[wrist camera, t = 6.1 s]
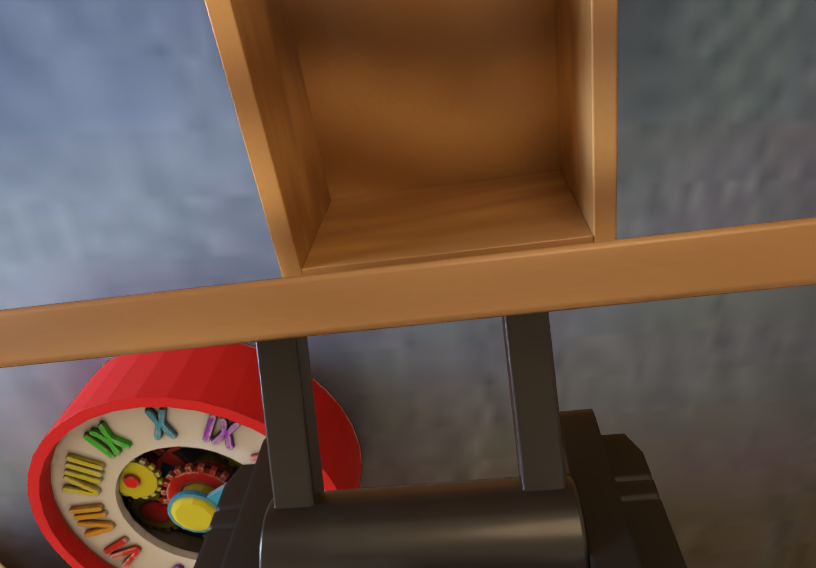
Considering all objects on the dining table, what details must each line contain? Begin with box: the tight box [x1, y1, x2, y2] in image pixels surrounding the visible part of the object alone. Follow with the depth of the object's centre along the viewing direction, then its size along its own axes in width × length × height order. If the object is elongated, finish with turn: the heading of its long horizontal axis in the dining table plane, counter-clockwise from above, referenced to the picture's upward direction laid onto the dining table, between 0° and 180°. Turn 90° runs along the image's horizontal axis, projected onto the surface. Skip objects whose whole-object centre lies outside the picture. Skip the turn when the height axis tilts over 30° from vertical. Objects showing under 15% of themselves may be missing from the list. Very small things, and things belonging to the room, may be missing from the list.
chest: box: [205, 0, 618, 278], centre depth 26 cm, size 17×14×9 cm
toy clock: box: [28, 343, 362, 568], centre depth 41 cm, size 20×6×20 cm
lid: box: [0, 217, 816, 568], centre depth 17 cm, size 18×14×5 cm
